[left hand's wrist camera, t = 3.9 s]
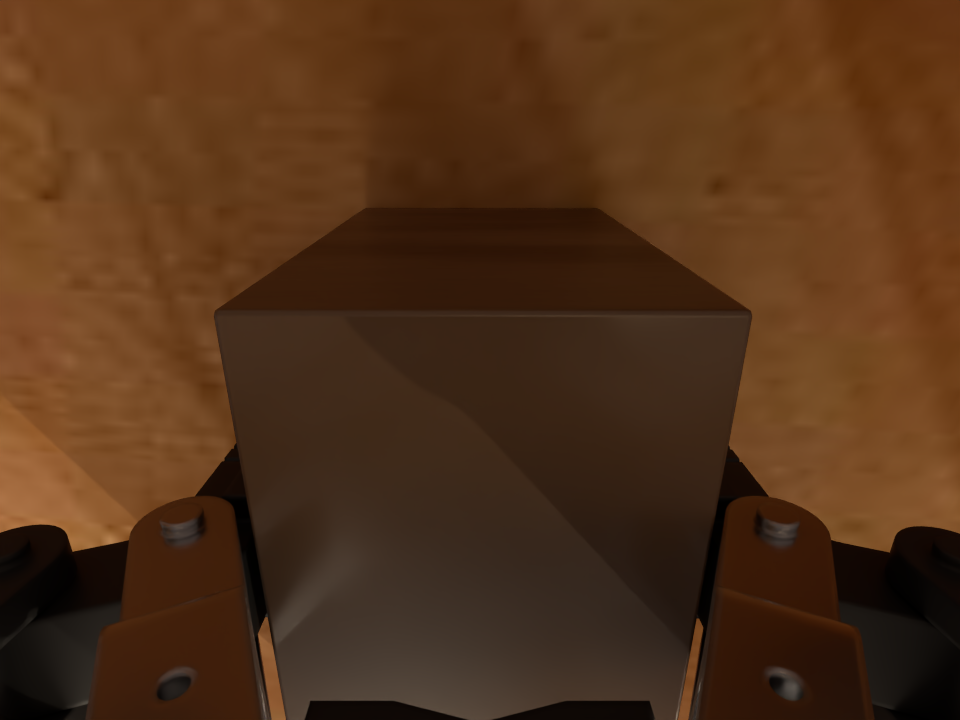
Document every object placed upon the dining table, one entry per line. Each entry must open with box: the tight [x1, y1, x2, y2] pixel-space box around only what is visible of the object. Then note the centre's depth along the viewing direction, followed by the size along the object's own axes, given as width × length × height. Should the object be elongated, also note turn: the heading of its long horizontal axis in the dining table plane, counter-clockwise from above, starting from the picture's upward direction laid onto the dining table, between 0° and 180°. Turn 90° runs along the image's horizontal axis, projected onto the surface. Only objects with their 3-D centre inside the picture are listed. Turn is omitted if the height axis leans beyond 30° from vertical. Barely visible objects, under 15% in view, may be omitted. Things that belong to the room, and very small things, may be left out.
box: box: [214, 208, 752, 720], centre depth 14 cm, size 21×6×9 cm, turn 0°
